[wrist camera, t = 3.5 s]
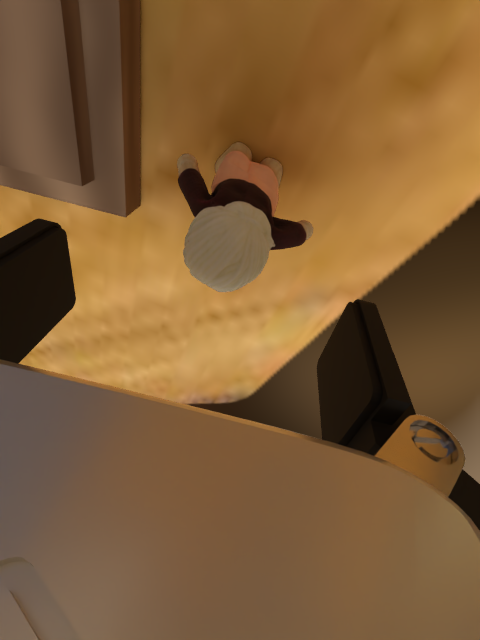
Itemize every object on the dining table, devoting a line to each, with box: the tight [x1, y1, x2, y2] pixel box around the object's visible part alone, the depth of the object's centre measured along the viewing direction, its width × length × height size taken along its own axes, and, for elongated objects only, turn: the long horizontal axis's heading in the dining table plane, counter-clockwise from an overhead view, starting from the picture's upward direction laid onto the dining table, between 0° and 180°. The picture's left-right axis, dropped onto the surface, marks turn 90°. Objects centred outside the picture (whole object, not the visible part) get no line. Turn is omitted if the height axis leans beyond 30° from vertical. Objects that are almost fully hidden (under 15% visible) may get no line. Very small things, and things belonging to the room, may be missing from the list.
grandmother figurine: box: [177, 142, 313, 292], centre depth 16 cm, size 8×4×13 cm, turn 76°
